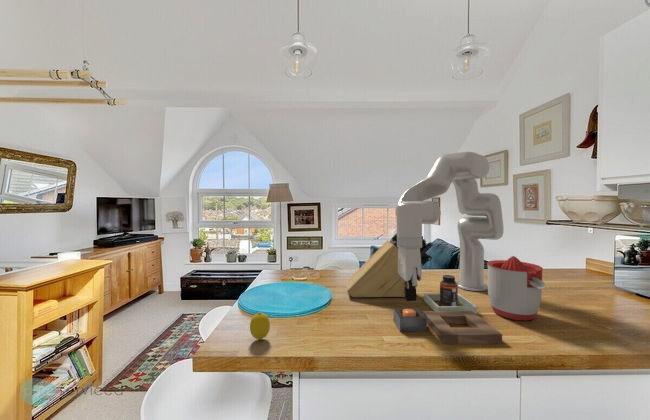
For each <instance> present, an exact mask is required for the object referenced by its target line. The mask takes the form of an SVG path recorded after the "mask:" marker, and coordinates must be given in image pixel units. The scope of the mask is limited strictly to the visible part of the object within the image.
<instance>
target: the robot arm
mask: <svg viewBox="0 0 650 420" xmlns="http://www.w3.org/2000/svg"><path fill="white" fill-rule="evenodd" d="M489 172H490V163H489V161H488V159H487V158H486V157H485V156H484V155H483V154H479V153H477V152H473V151H463V152H455V153H447V154H442V155H440V156H439V157H438V158H437V159H436V160H435V162H434V164H433V165H432V167H431V169H430V171H429V172H428V173H427V176H426V177H425V178H424V179H422V180H420V181H419V182H417V183H416V184H413V186H410V187H409V188H408V189H407V190H406V191H405V192H404V193H403V194H402V195H401V196H400V199H399V200H398V202H397V204H396V207H395V210H394V211H395V217H396V218H395V219H396V233H397V247H398V248H399V249H398V274H399V275H400V276H401V277H402V278H403V279H404V286H406V287H404V292H405V297H404V299H405V301H406V302H414V301H415V302H416V301H417V287H418V286H419V285H418V284H419V283H418V282H420V281H421V280H422V267H421V255H420V248H422V240H423V225H431V224H432V225H433V224H435V223H436V222H438V221H439V219H440V218H441V213H442V211H441V208H440V205H439V204H438V203H437V202H435V201H432V200H429V199H433V198H437V197H439V196H441V195H444V194H445V193H447V192H448V190H449V189H450V186H451V185H452V184H453V186H454V189H455V194H456V195H455V196H456V201H457V208H458V211H459V213H460V214H461V215H462V216H464V217H461V218H460V219H459V220H458V222H457V231H458V238H459V239H458V240H459V274H458V277H459V280H458V281H455V282H456V283H457V284H458V289H463V290H466V291H472V292H484V291H485V292H486V291H488V284H487V283H485V281H484V280H485V278H484V277H485V276H484V275H485V250H484V246H483V244H482V243H481V241H480V239H481V240H489V241H491V240H493V241H495V240H496V241H498V240H500V239H501V238H502V237H503V235H504V220H503V219H504V218H503V211H502V202H501V199H500V197H499V196H498V195H497V194H496V193H491V192H490V193H489V192H486V193H485V192H484V193H480V192H479V186H478V182H477V180H478V179H483V178H485V177H487V175H488V174H489ZM476 179H477V180H476Z"/></svg>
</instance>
